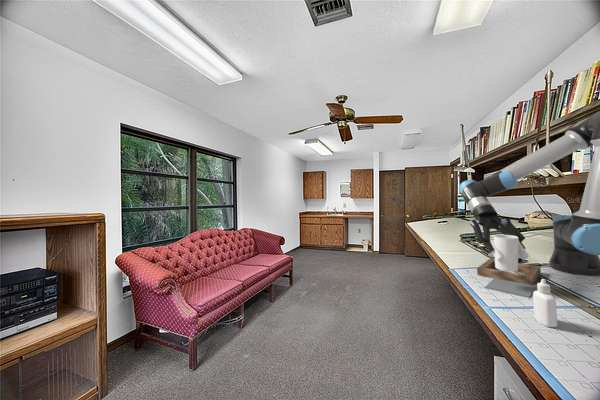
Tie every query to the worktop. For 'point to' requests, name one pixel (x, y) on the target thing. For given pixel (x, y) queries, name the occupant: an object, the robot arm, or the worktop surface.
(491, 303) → the worktop surface
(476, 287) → the worktop surface
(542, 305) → the eye dropper bottle
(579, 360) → the worktop surface
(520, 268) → the walnut collar
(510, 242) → the mug
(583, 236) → the robot arm
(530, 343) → the worktop surface
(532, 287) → the rubber mat
